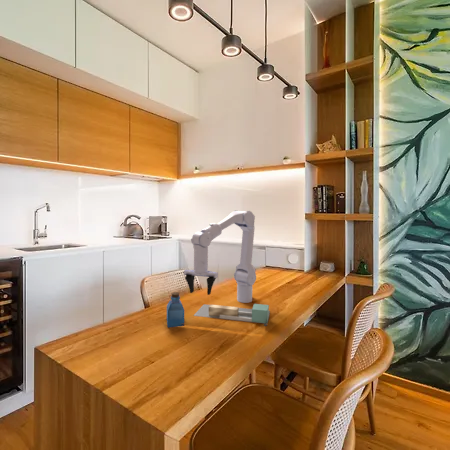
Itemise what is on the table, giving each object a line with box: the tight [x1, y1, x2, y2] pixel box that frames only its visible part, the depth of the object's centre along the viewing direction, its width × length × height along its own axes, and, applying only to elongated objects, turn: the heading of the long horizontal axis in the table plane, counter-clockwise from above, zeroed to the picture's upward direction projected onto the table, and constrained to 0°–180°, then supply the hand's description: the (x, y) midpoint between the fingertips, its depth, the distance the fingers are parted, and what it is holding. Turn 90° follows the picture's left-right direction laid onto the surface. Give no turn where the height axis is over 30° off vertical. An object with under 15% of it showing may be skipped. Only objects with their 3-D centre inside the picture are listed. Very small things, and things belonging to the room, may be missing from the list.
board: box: [193, 303, 271, 327], centre depth 121 cm, size 14×30×6 cm, turn 77°
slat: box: [209, 304, 240, 316], centre depth 119 cm, size 12×3×4 cm, turn 77°
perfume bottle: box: [166, 291, 185, 328], centre depth 112 cm, size 6×6×12 cm
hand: (200, 293), depth 121 cm, fingers open, 7 cm apart
